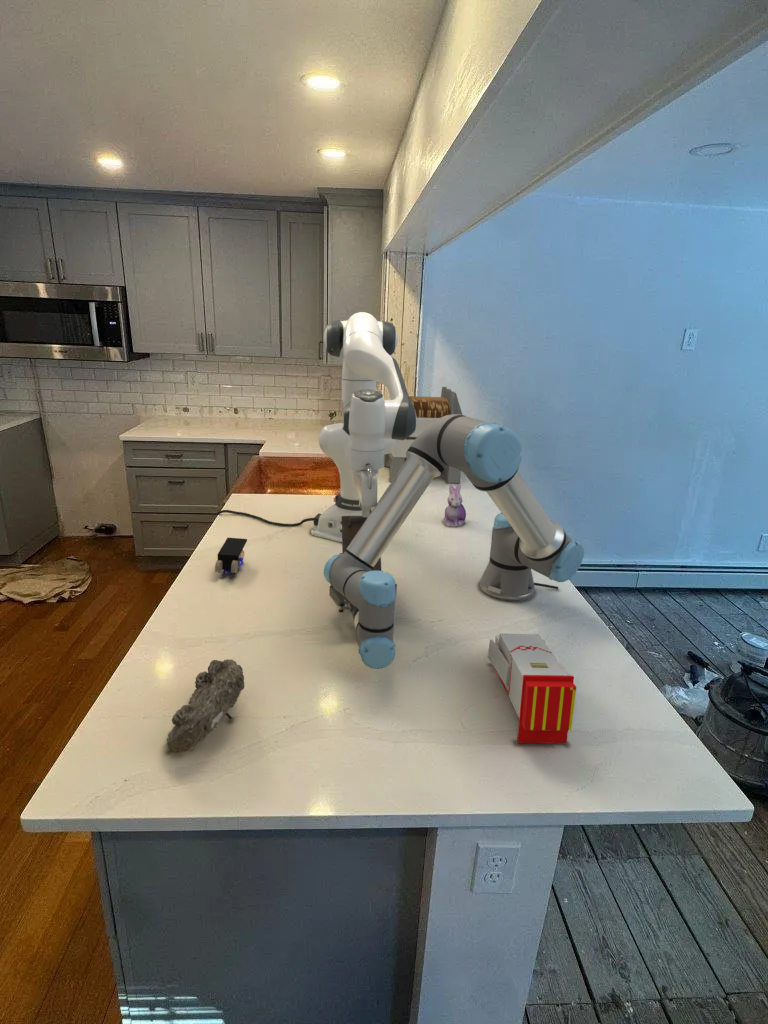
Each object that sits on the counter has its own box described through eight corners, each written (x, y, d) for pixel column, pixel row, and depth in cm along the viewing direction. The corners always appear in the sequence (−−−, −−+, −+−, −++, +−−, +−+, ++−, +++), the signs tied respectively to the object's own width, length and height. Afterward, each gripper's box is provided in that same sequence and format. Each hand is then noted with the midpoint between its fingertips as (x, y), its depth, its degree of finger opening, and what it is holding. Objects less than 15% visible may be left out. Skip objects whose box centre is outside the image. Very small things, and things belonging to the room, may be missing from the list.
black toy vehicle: (238, 584, 162) (249, 557, 175) (236, 562, 158) (247, 536, 172) (215, 584, 161) (227, 556, 175) (212, 561, 158) (225, 535, 171)
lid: (341, 516, 151) (343, 508, 142) (378, 516, 152) (383, 508, 144) (342, 573, 147) (345, 567, 139) (380, 572, 149) (385, 566, 140)
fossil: (192, 660, 117) (244, 628, 112) (224, 691, 120) (276, 661, 115) (142, 746, 98) (202, 712, 93) (182, 779, 101) (242, 748, 96)
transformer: (382, 463, 289) (386, 382, 275) (445, 464, 293) (451, 384, 279) (390, 482, 257) (394, 392, 243) (460, 483, 261) (468, 394, 247)
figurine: (451, 529, 206) (455, 489, 201) (436, 519, 214) (439, 481, 209) (472, 525, 210) (476, 487, 205) (457, 516, 219) (460, 479, 214)
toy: (536, 617, 130) (585, 683, 100) (531, 671, 132) (578, 750, 103) (483, 616, 129) (518, 682, 100) (479, 670, 132) (511, 749, 103)
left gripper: (384, 471, 128) (382, 527, 133) (373, 448, 147) (371, 498, 152) (357, 471, 127) (355, 528, 132) (349, 448, 146) (348, 498, 151)
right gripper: (321, 634, 131) (317, 589, 152) (416, 631, 134) (400, 587, 155) (321, 606, 129) (318, 564, 149) (418, 603, 132) (402, 562, 153)
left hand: (364, 512), depth 142 cm, fingers open, 5 cm apart
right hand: (360, 576), depth 152 cm, fingers closed on chest, 10 cm apart
